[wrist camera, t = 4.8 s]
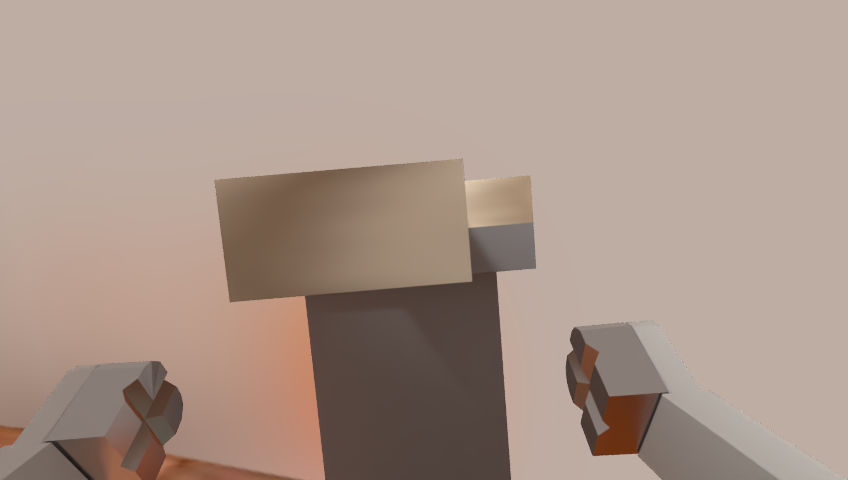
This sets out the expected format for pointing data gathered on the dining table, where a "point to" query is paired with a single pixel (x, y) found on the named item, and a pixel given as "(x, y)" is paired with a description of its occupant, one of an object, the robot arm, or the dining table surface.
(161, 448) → the robot arm
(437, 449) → the plinth
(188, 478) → the dining table surface
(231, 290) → the cutting board
